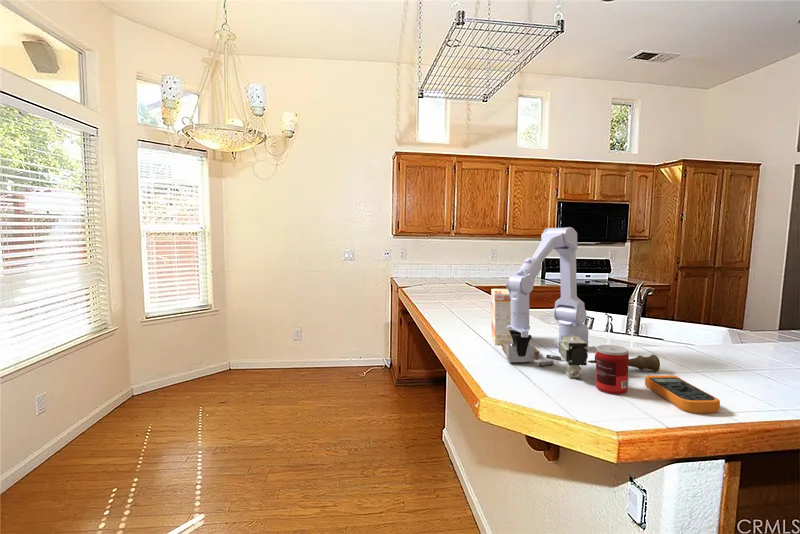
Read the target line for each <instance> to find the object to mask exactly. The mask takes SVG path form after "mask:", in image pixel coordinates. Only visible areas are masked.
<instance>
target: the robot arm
mask: <svg viewBox="0 0 800 534" xmlns="http://www.w3.org/2000/svg"><path fill="white" fill-rule="evenodd" d="M540 239H541V242H540V243H539V244H538V246H537V248H536V250H535V251H534V253H533V255H532V257H527V258H525V260H524V261H523V263H522V265H521V266H520V267H519V269H518V270H517V272H516V273H515V274H513V275H511V276H510V277H509V278H508V280H507V283H506V289H508V291H509V296H510V298H511V325H507V328H508V329H513V330H509V332H510V334H511V336H512V339H513V343H516V347H517V353H518V356H525V355H526V351H527V347H528V344H529V342H531V340H532V337H533V335H531V334H529V331H530V329H531V326H530V293H531V292H532V291H533V290H534V286H535V281H536V280H535V279H536V278H537V276H538V275H539V274H540V272H541V271H542V268H543V264H542V263H543V262H544V261H545V259H546V258H547V257H549V254H550V253H551V252H552V251H553V250H555V251H556V252H557V253H559V269H560V270H559V273H560V274H559V275H560V277H559V278H560V297H559V298H558V299H557V300H556V301H555V302H554V308H553V317H554V320H556V323H557V324H558V343H554V344H555V347H557V348H558V349H559V342H561V336H572V335H574V336H578V337H579V338H580V339H582V340H583V341H584V342H585V343H587V352H588V351H590V349H589V327H588V326H587V324H585V322H586V320H587V311H586V308H585V307H586V306H585V302H584V301H582V300H581V299H580V298H579V297H578V296H577V295H578V293H577V290H578V289H577V288H578V287H577V285H578V284H577V250H578V232H577V231H576V230H575V228H573V227H571V226H568V227H546V228H545V229H544V230H543V232H542V233H541V237H540Z"/></svg>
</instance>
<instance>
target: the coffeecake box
mask: <svg viewBox="0 0 800 534" xmlns="http://www.w3.org/2000/svg"><path fill="white" fill-rule="evenodd" d="M490 293H491V294H490V295H491V301H490V302H491V303H490V304H491V337H492V341H493V342H494V345H495V346H502V342H513V339H512V336H511V334H510V332H509V330H513V329H508V328H507V325H511V298H510V296H509V291H508V289H507V288H491V290H490Z"/></svg>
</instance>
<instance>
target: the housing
mask: <svg viewBox="0 0 800 534" xmlns="http://www.w3.org/2000/svg"><path fill="white" fill-rule="evenodd" d="M534 347H535V346H534V344H533V343H532V342H531V343H529V344H528V347H527V351H526V355H525V356H518V353H517V347H516V343H506V354H505V356H506V360H507V362H508V363H534V362H535V359H534Z"/></svg>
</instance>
